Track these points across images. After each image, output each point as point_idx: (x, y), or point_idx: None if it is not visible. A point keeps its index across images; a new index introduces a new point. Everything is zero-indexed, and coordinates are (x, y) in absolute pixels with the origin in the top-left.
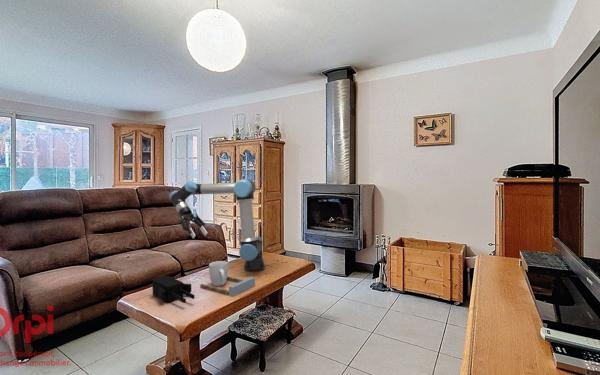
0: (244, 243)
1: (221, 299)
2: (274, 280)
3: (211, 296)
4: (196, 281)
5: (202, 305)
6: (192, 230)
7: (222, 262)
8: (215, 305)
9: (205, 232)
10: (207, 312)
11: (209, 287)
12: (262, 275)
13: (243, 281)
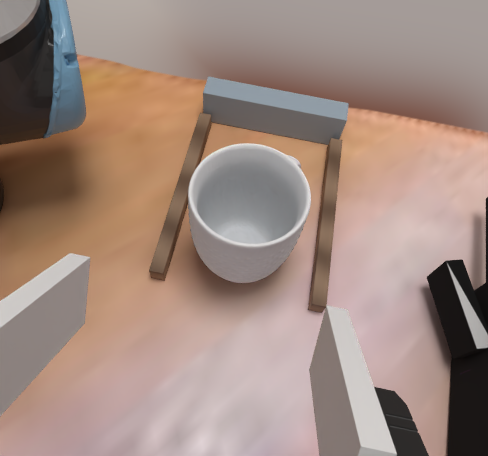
0: (44, 15)
1: (379, 152)
2: (122, 65)
3: (376, 201)
4: (241, 415)
5: (456, 184)
6: (347, 379)
7: (194, 198)
8: (430, 145)
9: (74, 282)
10: (482, 140)
11: (332, 240)
12: None
13: (268, 97)
